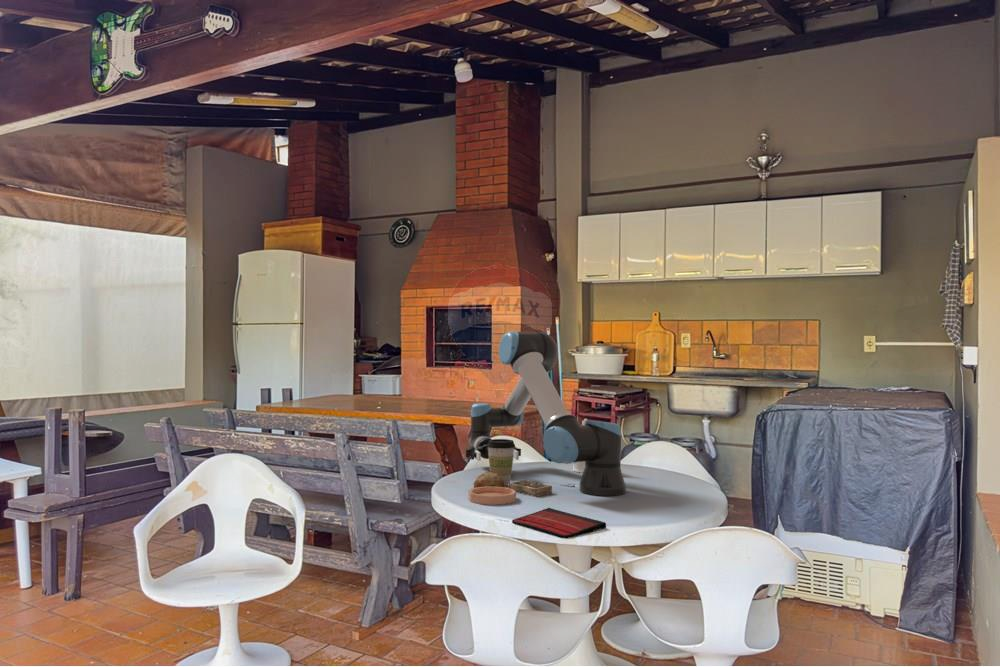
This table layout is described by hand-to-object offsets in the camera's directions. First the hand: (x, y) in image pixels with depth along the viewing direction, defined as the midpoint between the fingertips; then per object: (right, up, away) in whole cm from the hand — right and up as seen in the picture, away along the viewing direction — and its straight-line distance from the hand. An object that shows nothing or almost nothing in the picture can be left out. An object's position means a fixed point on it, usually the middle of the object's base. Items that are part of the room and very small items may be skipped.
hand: (498, 456), depth 240 cm
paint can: (+32, -10, +26) cm, 42 cm away
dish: (-2, -9, -25) cm, 27 cm away
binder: (+16, -9, -55) cm, 58 cm away
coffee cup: (+1, -9, -2) cm, 10 cm away
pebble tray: (+10, -9, -14) cm, 19 cm away
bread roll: (-3, -9, -12) cm, 16 cm away
